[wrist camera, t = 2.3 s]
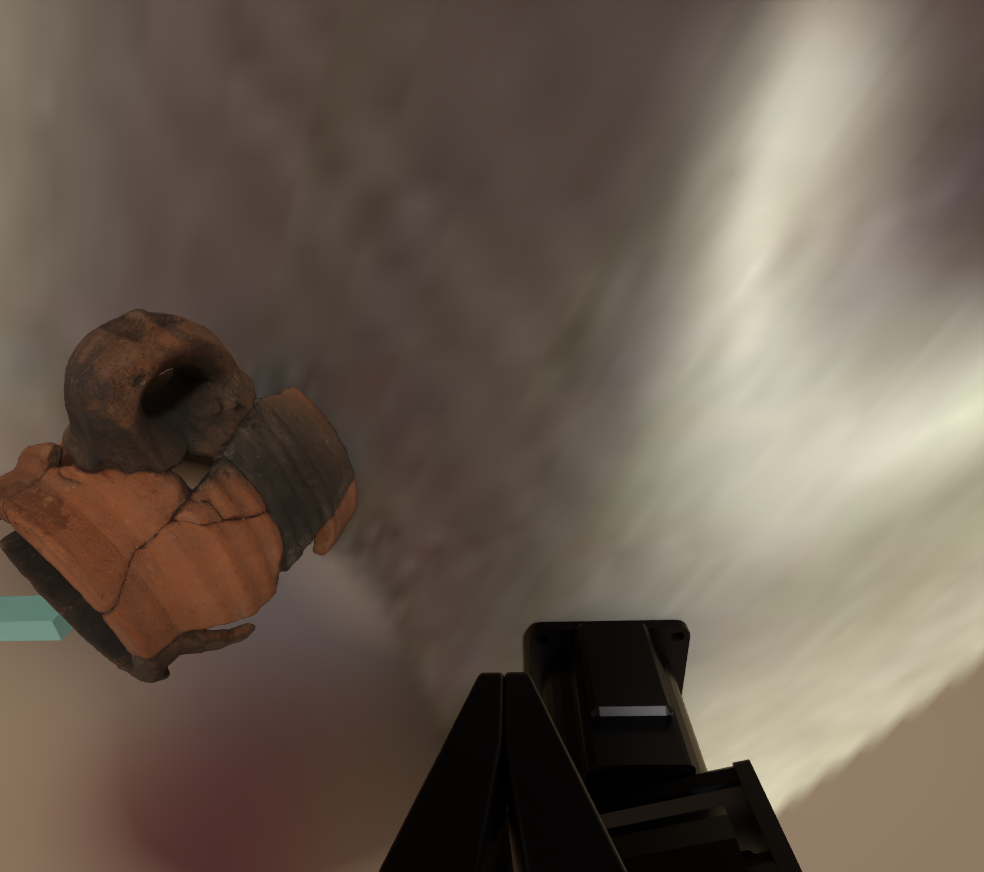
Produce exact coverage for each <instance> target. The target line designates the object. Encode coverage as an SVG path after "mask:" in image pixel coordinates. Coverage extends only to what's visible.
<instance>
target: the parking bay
mask: <svg viewBox="0 0 984 872" xmlns="http://www.w3.org/2000/svg"><path fill="white" fill-rule="evenodd" d="M72 629H73V627H72V626H71V625H70V624H69V623H68V622H67V621H66V620H65V619H64V618H63V617H62V616H61V615H60V614H59V613H58V612H57V611H56V610H55V609H53V608H52V607H51V605H50V604H49V603H48V602H47V601H46V600H45V599H44V598H43V597H42V596H0V641H35V640H36V641H37V640H62V639H63V638H64V637H65V636H66V635H67V634H68V633H69V632H70V631H71V630H72Z"/></svg>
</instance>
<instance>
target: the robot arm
mask: <svg viewBox="0 0 984 872" xmlns="http://www.w3.org/2000/svg"><path fill="white" fill-rule="evenodd" d="M675 632H679V633H676V634H673V633H675ZM540 634H546V635H545V636H539V635H540ZM689 641H690V632H689V630H688V627H687V625H686V624H685V623H684V622H682V621H680V620H645V621H588V622H541V623H536V624H535V625H533V626H532V627H531V629H530V664H531V676H530V675H529V674H528V673H527V672H509V673H506V674H505V677H504V675H503V674H502V673H481V674H480V675H479V676H478V677H477V679H476V681H475V683H474V685H473V687H472V689H471V691H470V693H469V695H468V697H467V699H466V701H465V703H464V705H463V707H462V709H461V711H460V713H459V715H458V717H457V719H456V720H455V722H454V724H453V726H452V728H451V730H450V732H449V734H448V736H447V738H446V740H445V742H444V744H443V746H442V748H441V750H440V752H439V754H438V756H437V758H436V760H435V762H434V764H433V766H432V768H431V770H430V772H429V774H428V776H427V778H426V779H425V782H424V783H423V786H422V787H421V789H420V792H419V793H418V795H417V797H416V799H415V801H414V803H413V805H412V807H411V809H410V811H409V813H408V815H407V817H406V819H405V821H404V823H403V825H402V827H401V829H400V831H399V833H398V835H397V837H396V839H395V841H394V842H393V844H392V846H391V848H390V850H389V852H388V854H387V856H386V858H385V860H384V862H383V864H382V866H381V868H380V870H379V872H802V870H801V868H800V866H799V864H798V862H797V860H796V858H795V855H794V853H793V851H792V849H791V847H790V845H789V843H788V841H787V838H786V836H785V834H784V832H783V831H782V828H781V826H780V824H779V821H778V819H777V817H776V815H775V813H774V811H773V809H772V807H771V805H770V802H769V800H768V798H767V796H766V794H765V792H764V790H763V788H762V786H761V783H760V781H759V779H758V777H757V775H756V773H755V771H754V769H753V766H752V764H751V762H750V760H749V759H748V760H744V761H739V762H734V763H733V766H731V767H726V768H722V769H717V770H712V771H707V768H706V766H705V763H704V760H703V757H702V754H701V751H700V748H699V745H698V742H697V740H696V737H695V734H694V731H693V728H692V725H691V722H690V719H689V716H688V714H687V711H686V708H685V705H684V702H683V699H682V689H683V682H684V675H685V668H686V662H687V655H688V648H689ZM507 809H508V811H507Z"/></svg>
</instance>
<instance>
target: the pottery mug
mask: <svg viewBox="0 0 984 872" xmlns="http://www.w3.org/2000/svg"><path fill="white" fill-rule="evenodd" d="M171 368H173V369H171ZM167 369H171V370H168V371H166V372H165V373H163V374H161V375H159V374H160V373H162V372H164V371H165V370H167ZM158 375H159V376H158ZM64 400H65V407H66V410H67V413H68V417H69V420H70V424H69V425H68V427H67V428H66V430H65V431H64V433H63V439H62V442H61V444H60V445H57V444H55V443H43V444H37V445H34V446H28V447H27V448H25V449H24V450H23V451H22V453H21V455H20V456H19V458H18V463H17V465H16V467H15V469H14V470H12V471H10V472H8V473H6V474H5V475H3V476H1V477H0V520H1V519H2V520H4V521H5V522H7V523H10V524H11V525H12V526H13V528H14V529H15V530H16V531H14V532H12V533H10V534H9V535H7V536H5V537H4V538H3V539H2V540H1V541H0V547H1V548H2V550H3V551H4V553H5V554H6V555H7V557H8V558H9V560H10V561H11V562H12V563H13V564H14V565H15V566H16V567H17V569H18V570H19V572H20V573H21V574H22V575H23V576H24V577H26V578H27V579H28V580H29V581H30V582H31V584H32V585H33V587H34V588H35V590H36V591H37V592H38V593H39V594H40V595H41V596H42V597H43V598H44V599H45V600H46V601H47V602H48V603H49V604H50V605H51V607H52V608H53V609H55V610H56V611H57V612H58V613H59V614H60V615H61V616H62V617H63V618H64V619H65V620H66V621H67V622H68V623H69V624H70V625H71V626H72V627H73V628H74V629H75V630H76V631H77V632H78V633H79V634H80V635H81V636H82V637H84V638H85V640H86V641H87V642H89V643H90V644H91V645H93V646H94V647H95V648H96V649H97V650H98V651H99V652H100V653H102V654H103V655H104V656H105V657H106V658H108V659H109V660H110V661H111V662H113V663H114V664H116V665H117V667H118V668H119V669H121V670H124V671H126V672H128V673H129V674H131V675H132V676H134V677H135V678H137V679H139V680H140V681H143V682H149V683H154V682H157V681H159V680H163V679H166V678H168V677H169V675H170V672H169V670H168V666H169V665H170V664H171V663H172V662H173V661H174V660H175V659H176V658H177V657H178V656H179V655H182V654H194V653H202V652H205V651H211V650H218V649H221V648H224V647H226V646H228V645H230V644H233V643H237V642H240V641H242V640H244V639H246V638H247V637H248V636H249V635H250V634H251V633H252V632H253V631H254V630H255V625H253V624H249V623H247V624H243V625H240V626H237V627H235V628H232V629H229V630H226V629H221V630H206V629H208V628H211V627H213V626H216V625H225V624H229V623H232V622H235V621H237V620H239V619H242V618H247V617H250V616H253V615H255V614H256V613H257V612H258V611H259V609H260V608H261V607H262V606H263V605H264V604H265V603H267V602H268V601H269V600H270V599H271V598H272V597H273V595H274V594H275V593H276V590H277V584H278V580H279V572H281V571H288V570H289V569H290V567H291V566H292V565H293V564H294V563H295V562H296V561H297V560H298V559H299V558H300V557H301V556H302V554H303V551H304V549H305V548H306V547H307V546H308V545H309V544H310V543H311V542H312V541H313V539H314V547H313V552H314V553H316V554H319V555H325V554H326V553H327V552H328V551H329V550H330V549H331V548H332V546H333V545H334V544H335V542H336V541H337V539H338V537H339V536H340V534H341V532H342V531H343V529H344V526H345V524H346V523H347V522H348V520H349V519H350V518H351V517H352V516H353V514H354V511H355V508H356V505H357V489H356V482H355V479H354V471H353V468H352V466H351V463H350V461H349V458H348V454H347V450H346V448H345V446H344V445H343V443H342V442H341V440H340V439H339V437H338V435H337V432H336V430H335V428H334V427H333V426H332V425H331V423H330V421H329V420H328V418H327V417H326V416H325V415H324V414H323V413H322V412H321V411H320V410H319V409H318V408H317V407H316V406H315V404H314V403H313V402H312V401H311V400H310V399H309V398H307V397H306V396H305V395H304V394H303V393H302V392H301V391H299V390H298V389H297V388H295V387H290V388H287V389H285V390H284V391H282V392H280V393H279V394H277V395H273V394H272V395H269V396H267V397H265V398H260V399H255V388H254V385H253V382H252V380H251V379H250V377H248V376H247V375H246V374H245V373H244V372H243V371H241V370H240V369H239V368H238V366H237V364H236V362H235V361H234V359H233V357H232V356H231V354H230V353H229V352H228V351H227V349H226V348H225V347H224V345H223V344H222V342H221V341H220V340H219V339H218V338H217V337H216V335H215V334H214V333H212V332H211V331H210V330H209V329H207V328H205V327H204V326H201V325H199V324H197V323H194V322H191V321H190V320H188V319H186V318H183V317H180V316H176V315H170V314H166V313H152V312H147V311H146V310H142V309H135V310H132V311H129V312H128V313H126V314H124V315H122V316H120V317H118V318H116V319H113V320H110V321H108V322H107V323H105V324H103V325H101V326H99V327H98V328H97V329H95V330H93V331H91V332H90V333H88V334H87V335H86V336H85V337H84V338H83V339H82V340H81V342H80V343H79V344H78V345H77V347H76V348H75V349H74V351H73V353H72V355H71V356H70V358H69V361H68V364H67V366H66V372H65V382H64ZM185 454H186V455H193V456H202V457H205V458H211V459H212V460H213V465H212V467H211V468H210V470H209V472H208V473H207V474H206V475H205V477H204V478H203V479H202V480H201V481H200V483H199V484H198V486H196V487H195V488H194V489H193V490H192V489H191V488H190V487H188V486H187V484H186V483H185V481H184V480H183V479H182V477H180V476H179V475H177V474H176V473H174V472H172V471H171V469H172V468H174V467H175V466H177V465H178V464H179V463H180V462H181V461H182V460H183V458H184V456H185Z"/></svg>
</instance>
